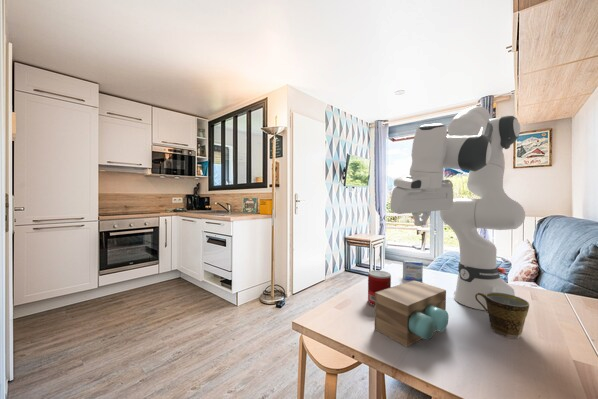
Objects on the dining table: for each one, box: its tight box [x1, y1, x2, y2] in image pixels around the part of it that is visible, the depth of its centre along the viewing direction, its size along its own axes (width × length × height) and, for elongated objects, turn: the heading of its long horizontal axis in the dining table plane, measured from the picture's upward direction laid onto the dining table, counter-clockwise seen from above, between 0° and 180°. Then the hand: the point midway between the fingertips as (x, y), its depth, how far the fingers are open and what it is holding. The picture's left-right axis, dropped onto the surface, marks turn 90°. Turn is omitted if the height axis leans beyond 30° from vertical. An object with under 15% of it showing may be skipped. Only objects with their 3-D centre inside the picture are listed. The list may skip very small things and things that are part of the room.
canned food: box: [367, 270, 392, 306], centre depth 93 cm, size 8×8×11 cm
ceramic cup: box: [475, 292, 530, 340], centre depth 75 cm, size 13×10×10 cm
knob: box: [424, 305, 450, 333], centre depth 74 cm, size 6×14×6 cm, turn 34°
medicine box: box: [402, 259, 424, 282], centre depth 120 cm, size 8×4×9 cm, turn 81°
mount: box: [374, 280, 447, 348], centre depth 74 cm, size 20×15×11 cm
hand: (420, 225), depth 77 cm, fingers closed
